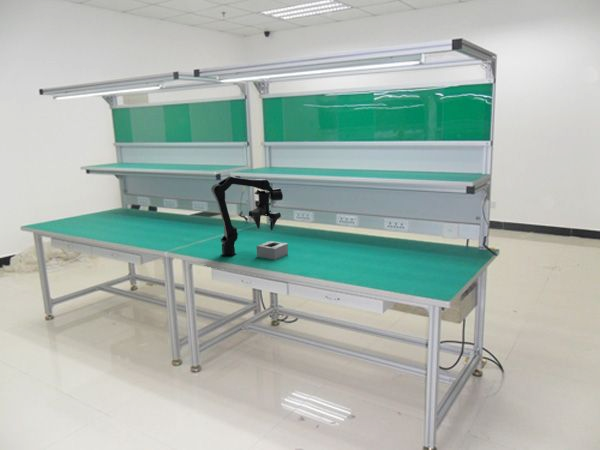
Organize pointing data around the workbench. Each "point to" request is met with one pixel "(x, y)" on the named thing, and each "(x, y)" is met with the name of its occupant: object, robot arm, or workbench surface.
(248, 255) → the workbench surface
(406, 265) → the workbench surface
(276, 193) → the robot arm
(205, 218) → the workbench surface
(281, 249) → the slot box
